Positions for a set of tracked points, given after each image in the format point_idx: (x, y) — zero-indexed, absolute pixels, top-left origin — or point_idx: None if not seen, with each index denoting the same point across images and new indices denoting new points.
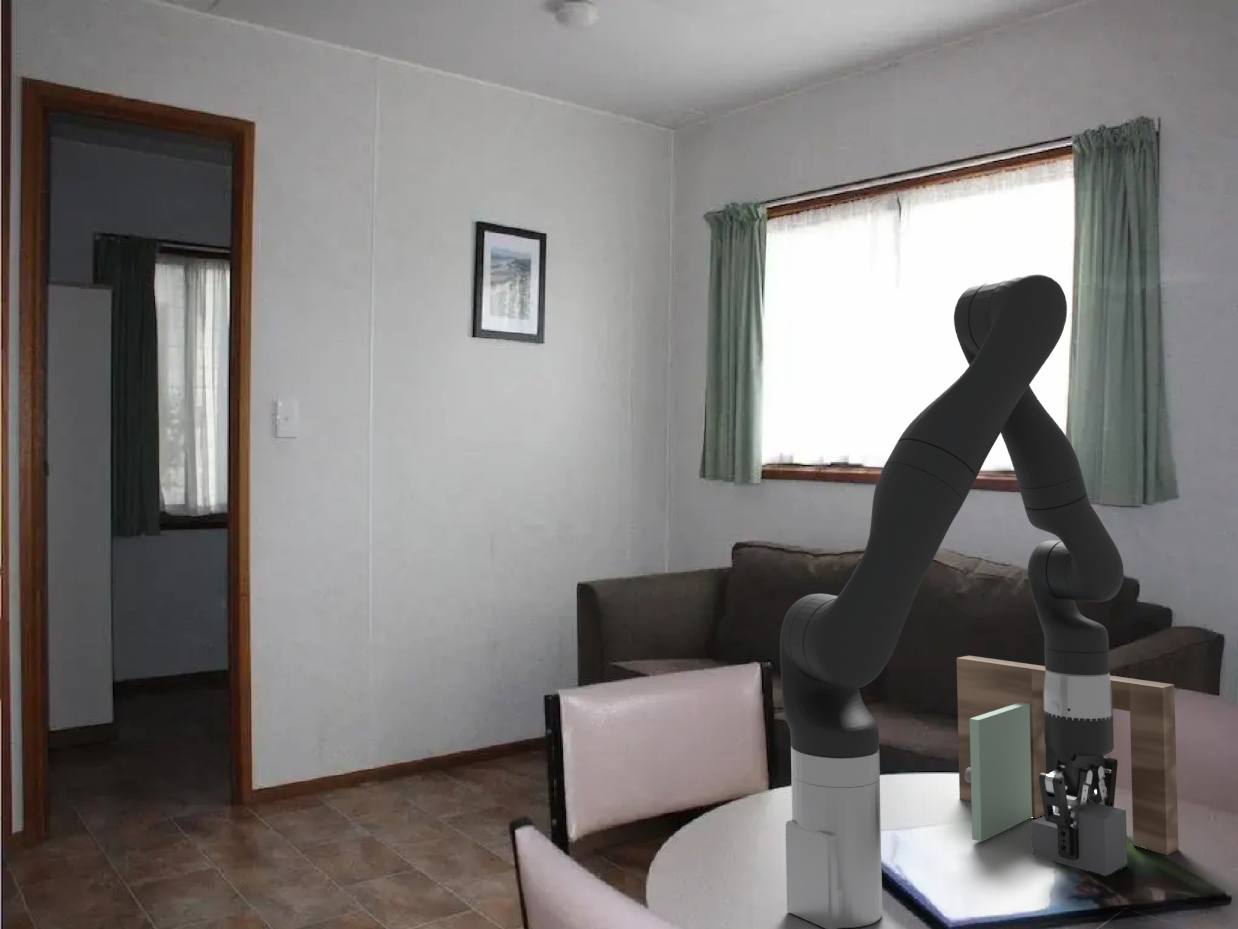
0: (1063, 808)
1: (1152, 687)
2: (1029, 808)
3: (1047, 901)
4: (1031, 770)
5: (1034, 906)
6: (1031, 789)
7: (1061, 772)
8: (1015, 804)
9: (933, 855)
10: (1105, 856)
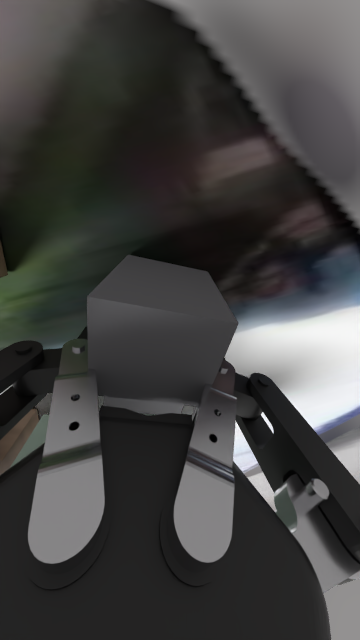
0: (300, 418)
1: None
2: (42, 428)
3: (345, 310)
4: None
5: None
6: (7, 457)
7: (331, 582)
8: None
9: (241, 432)
10: (214, 283)
